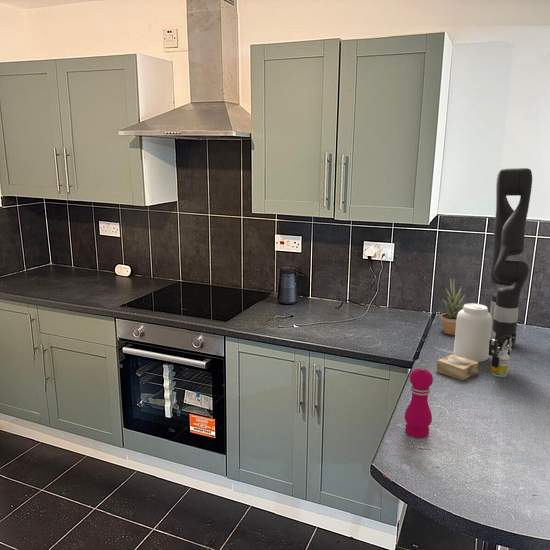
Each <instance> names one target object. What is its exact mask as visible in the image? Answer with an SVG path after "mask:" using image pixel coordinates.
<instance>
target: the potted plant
mask: <svg viewBox="0 0 550 550" xmlns="http://www.w3.org/2000/svg"><path fill="white" fill-rule="evenodd" d="M449 281H450V291H449V290H448V289H447V287H445V290H446V293H447V300H448V302H447V301H446V300H444V298H442V302H443V303H444V304H445V307H444V308H445V310H446V311H445V313H441V314H440V320H441V323H442V327H443V332H444V334H447V335H453V336H455V331H456V320H457V315H458V312H459V311H461V310H462V309H463V306H464V305H465V303H463V302H464V301H465V299H464V298H465V297H466V294H464V295H463V296H462V297H461V294H462V293H461V291H462V287H460V288H459V290H458V292H457V293H456V287H455V286H456V285H455V283H456V282H455V281H456V280H453V282H452V278H451V277H450V279H449ZM450 292H451V293H450ZM460 297H461V299H460Z"/></svg>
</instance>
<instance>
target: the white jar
mask: <svg viewBox="0 0 550 550" xmlns="http://www.w3.org/2000/svg"><path fill="white" fill-rule="evenodd" d="M491 330H492V316H491V315H490V312H489V308H488V306H486V305H484V304H481V303H474V302H473V303H472V302H471V303H464V304H463V306H462V308H461V309H460V310H459V312H458V315H457V320H456V331H455V335H454V342H453V343H454V344H453V353H452V354H456V355H459V356H462V357H465V358H468V359H471V360H474V361H477V362H479V363H481V362H485V361H487V360H488V359H489V356H490V355H489V341H490V339H491Z"/></svg>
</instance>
